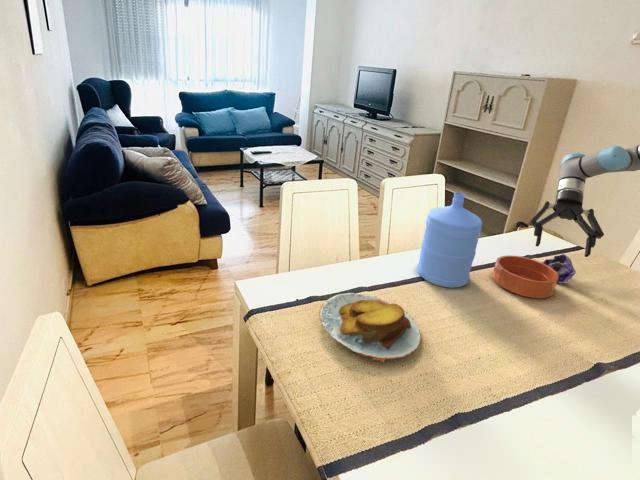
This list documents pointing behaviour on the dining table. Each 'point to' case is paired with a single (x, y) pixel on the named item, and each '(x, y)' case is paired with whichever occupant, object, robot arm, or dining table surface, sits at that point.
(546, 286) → the pot
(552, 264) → the flower
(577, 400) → the dining table surface
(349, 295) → the food on plate
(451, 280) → the water jug
